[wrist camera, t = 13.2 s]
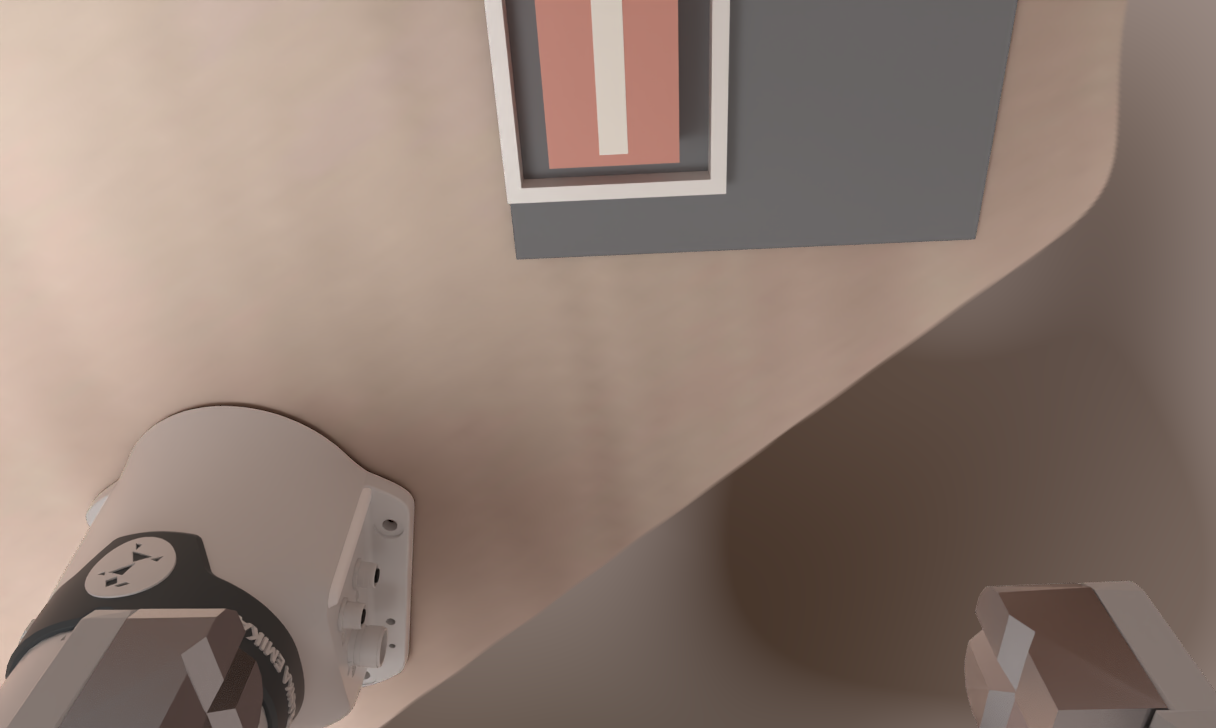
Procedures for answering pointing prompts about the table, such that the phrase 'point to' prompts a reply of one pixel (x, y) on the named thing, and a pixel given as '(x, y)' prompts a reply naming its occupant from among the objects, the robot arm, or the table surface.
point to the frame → (610, 184)
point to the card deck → (609, 81)
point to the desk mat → (797, 130)
